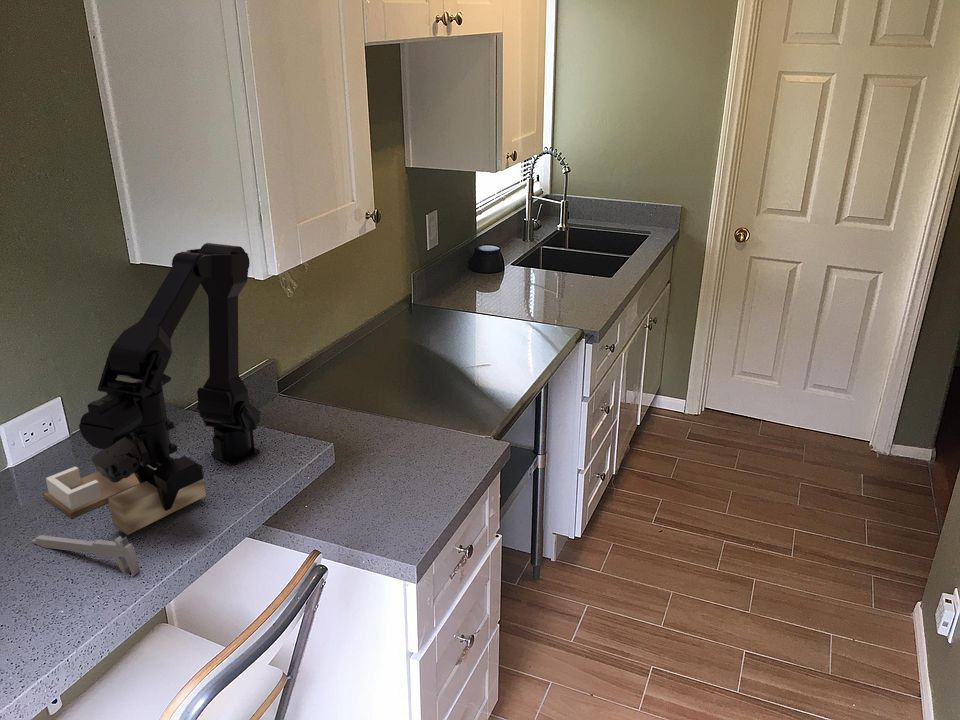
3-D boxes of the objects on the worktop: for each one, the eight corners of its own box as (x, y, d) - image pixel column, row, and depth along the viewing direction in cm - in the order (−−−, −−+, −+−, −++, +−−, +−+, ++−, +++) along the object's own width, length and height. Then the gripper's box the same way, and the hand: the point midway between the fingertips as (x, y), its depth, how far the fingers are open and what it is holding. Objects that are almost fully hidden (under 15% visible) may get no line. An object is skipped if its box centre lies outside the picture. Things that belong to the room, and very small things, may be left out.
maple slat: (191, 487, 133) (187, 462, 131) (205, 496, 130) (202, 470, 128) (113, 525, 122) (108, 498, 120) (127, 534, 120) (122, 507, 118)
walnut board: (150, 455, 145) (149, 450, 144) (177, 471, 140) (177, 467, 139) (44, 498, 131) (43, 493, 130) (71, 518, 126) (70, 513, 125)
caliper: (140, 574, 114) (134, 538, 112) (135, 578, 113) (128, 542, 111) (36, 540, 121) (28, 506, 118) (30, 544, 120) (21, 510, 117)
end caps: (148, 453, 144) (146, 438, 142) (172, 466, 139) (170, 452, 138) (48, 493, 130) (45, 478, 129) (71, 510, 126) (68, 494, 125)
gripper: (63, 417, 119) (81, 504, 125) (129, 458, 109) (145, 551, 115) (132, 394, 127) (145, 476, 133) (200, 429, 117) (211, 517, 123)
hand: (160, 504), depth 126 cm, fingers closed on maple slat, 4 cm apart
